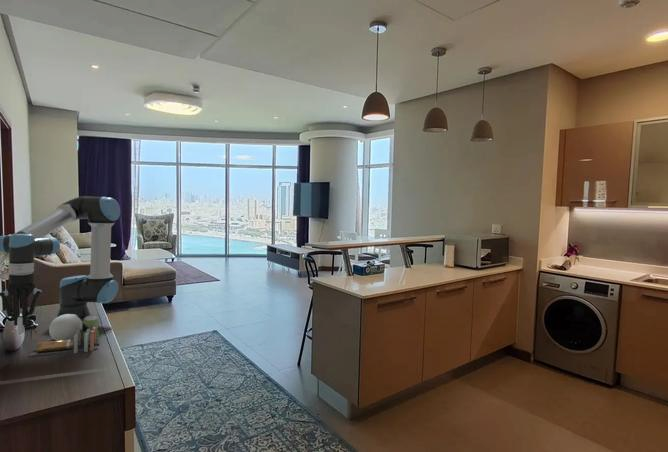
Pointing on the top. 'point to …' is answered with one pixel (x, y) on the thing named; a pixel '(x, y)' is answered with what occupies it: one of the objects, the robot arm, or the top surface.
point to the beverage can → (91, 325)
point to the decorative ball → (65, 327)
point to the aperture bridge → (93, 338)
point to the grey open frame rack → (62, 351)
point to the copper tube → (55, 346)
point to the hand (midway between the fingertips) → (20, 333)
